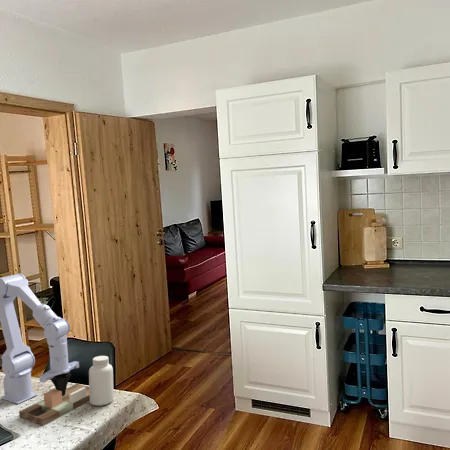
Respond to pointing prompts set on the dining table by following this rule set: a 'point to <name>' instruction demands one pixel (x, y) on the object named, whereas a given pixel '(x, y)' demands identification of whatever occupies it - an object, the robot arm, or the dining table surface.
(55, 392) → the block
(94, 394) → the pill bottle
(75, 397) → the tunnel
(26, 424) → the dining table surface
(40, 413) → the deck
